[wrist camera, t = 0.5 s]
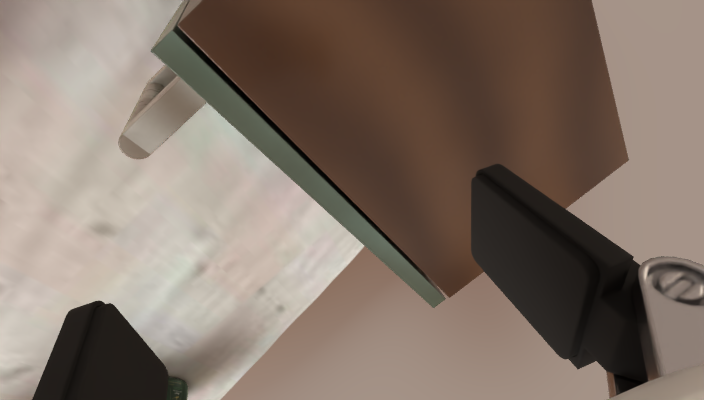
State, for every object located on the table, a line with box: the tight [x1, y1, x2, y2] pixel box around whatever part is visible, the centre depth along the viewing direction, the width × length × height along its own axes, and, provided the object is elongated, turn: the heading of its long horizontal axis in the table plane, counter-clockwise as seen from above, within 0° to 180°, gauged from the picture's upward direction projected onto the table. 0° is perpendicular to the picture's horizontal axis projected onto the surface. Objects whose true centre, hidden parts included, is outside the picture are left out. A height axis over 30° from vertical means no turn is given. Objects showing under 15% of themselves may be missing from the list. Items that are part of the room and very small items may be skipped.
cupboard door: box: [119, 0, 445, 308], centre depth 33 cm, size 8×24×26 cm, turn 37°
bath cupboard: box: [177, 0, 629, 297], centre depth 31 cm, size 16×24×26 cm, turn 37°
